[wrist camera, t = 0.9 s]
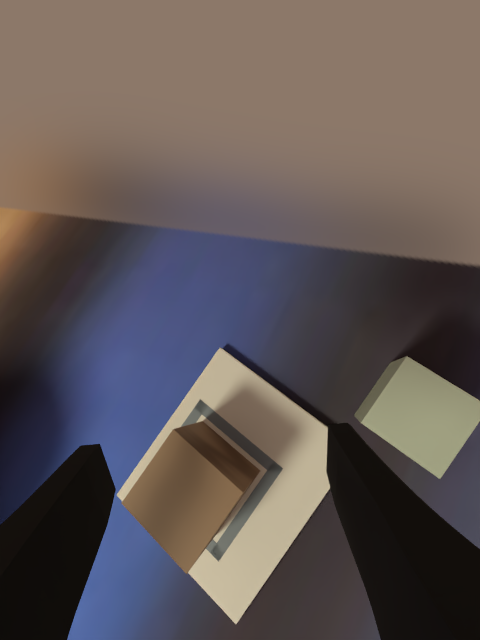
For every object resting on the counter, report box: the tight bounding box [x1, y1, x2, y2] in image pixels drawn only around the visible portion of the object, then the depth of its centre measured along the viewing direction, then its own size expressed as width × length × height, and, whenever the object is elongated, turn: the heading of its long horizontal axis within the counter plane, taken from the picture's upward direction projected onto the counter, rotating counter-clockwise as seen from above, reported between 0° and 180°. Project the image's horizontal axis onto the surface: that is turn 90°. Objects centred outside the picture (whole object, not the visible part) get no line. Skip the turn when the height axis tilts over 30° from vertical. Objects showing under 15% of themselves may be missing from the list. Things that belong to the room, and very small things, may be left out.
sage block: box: [354, 356, 480, 479], centre depth 20 cm, size 4×4×5 cm
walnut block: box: [122, 421, 260, 574], centre depth 21 cm, size 6×6×5 cm
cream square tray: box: [117, 348, 330, 624], centre depth 24 cm, size 12×14×1 cm
